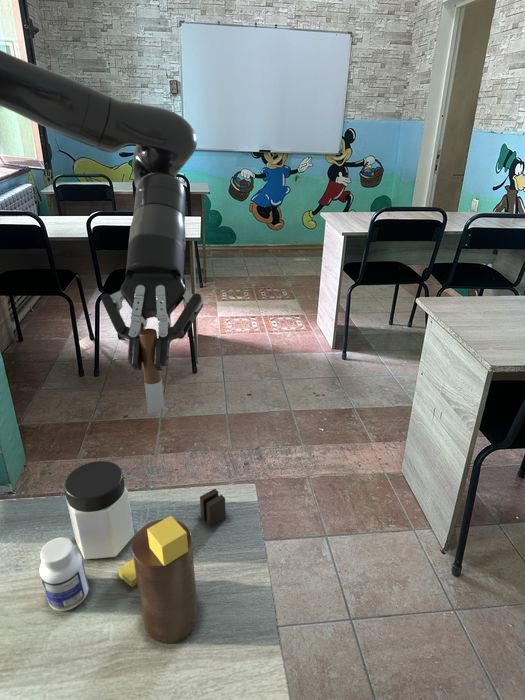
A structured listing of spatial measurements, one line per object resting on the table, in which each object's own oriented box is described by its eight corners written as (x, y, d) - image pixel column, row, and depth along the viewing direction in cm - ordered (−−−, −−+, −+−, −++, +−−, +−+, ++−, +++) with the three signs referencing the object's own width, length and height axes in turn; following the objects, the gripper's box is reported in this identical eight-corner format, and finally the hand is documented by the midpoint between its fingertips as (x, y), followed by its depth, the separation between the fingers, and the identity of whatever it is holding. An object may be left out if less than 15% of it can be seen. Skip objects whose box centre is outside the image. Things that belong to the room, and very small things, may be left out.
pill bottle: (56, 578, 68) (43, 533, 64) (93, 577, 68) (83, 532, 65) (42, 613, 64) (28, 566, 60) (82, 612, 64) (70, 565, 60)
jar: (104, 510, 80) (93, 453, 75) (144, 526, 77) (135, 467, 72) (63, 550, 73) (48, 489, 67) (106, 569, 70) (94, 507, 64)
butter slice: (117, 570, 68) (131, 581, 67) (136, 555, 71) (149, 566, 69) (119, 575, 69) (132, 587, 67) (137, 561, 71) (150, 572, 69)
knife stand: (201, 517, 79) (199, 496, 77) (215, 508, 80) (214, 488, 78) (210, 527, 77) (209, 506, 75) (225, 518, 79) (225, 497, 77)
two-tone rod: (144, 410, 65) (134, 331, 60) (160, 404, 67) (151, 326, 61) (152, 417, 64) (143, 337, 59) (168, 410, 65) (160, 331, 60)
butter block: (149, 547, 56) (146, 528, 55) (173, 533, 58) (171, 515, 57) (164, 566, 54) (162, 547, 52) (188, 551, 56) (186, 532, 54)
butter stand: (134, 614, 63) (121, 538, 57) (179, 584, 68) (172, 510, 61) (161, 655, 59) (150, 577, 52) (208, 620, 63) (203, 543, 57)
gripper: (97, 232, 62) (81, 360, 56) (204, 232, 62) (199, 360, 56) (114, 260, 69) (101, 376, 63) (210, 260, 69) (206, 376, 64)
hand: (147, 368), depth 60 cm, fingers closed on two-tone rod, 2 cm apart
